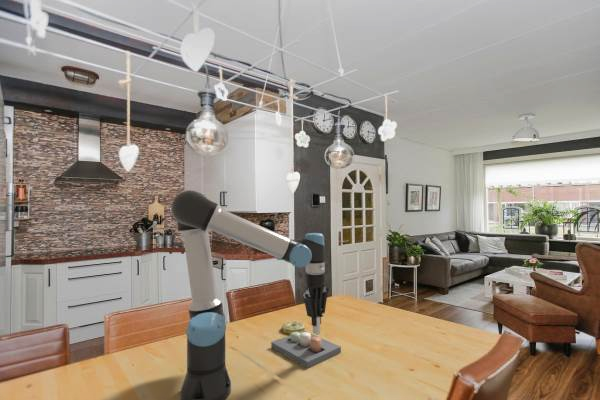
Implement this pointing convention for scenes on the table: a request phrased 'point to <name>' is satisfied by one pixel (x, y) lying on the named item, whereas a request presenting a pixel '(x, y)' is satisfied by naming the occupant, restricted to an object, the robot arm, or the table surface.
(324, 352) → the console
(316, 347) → the terracotta button
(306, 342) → the white egg
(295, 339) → the sage button
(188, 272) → the robot arm
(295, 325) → the decorated donut
